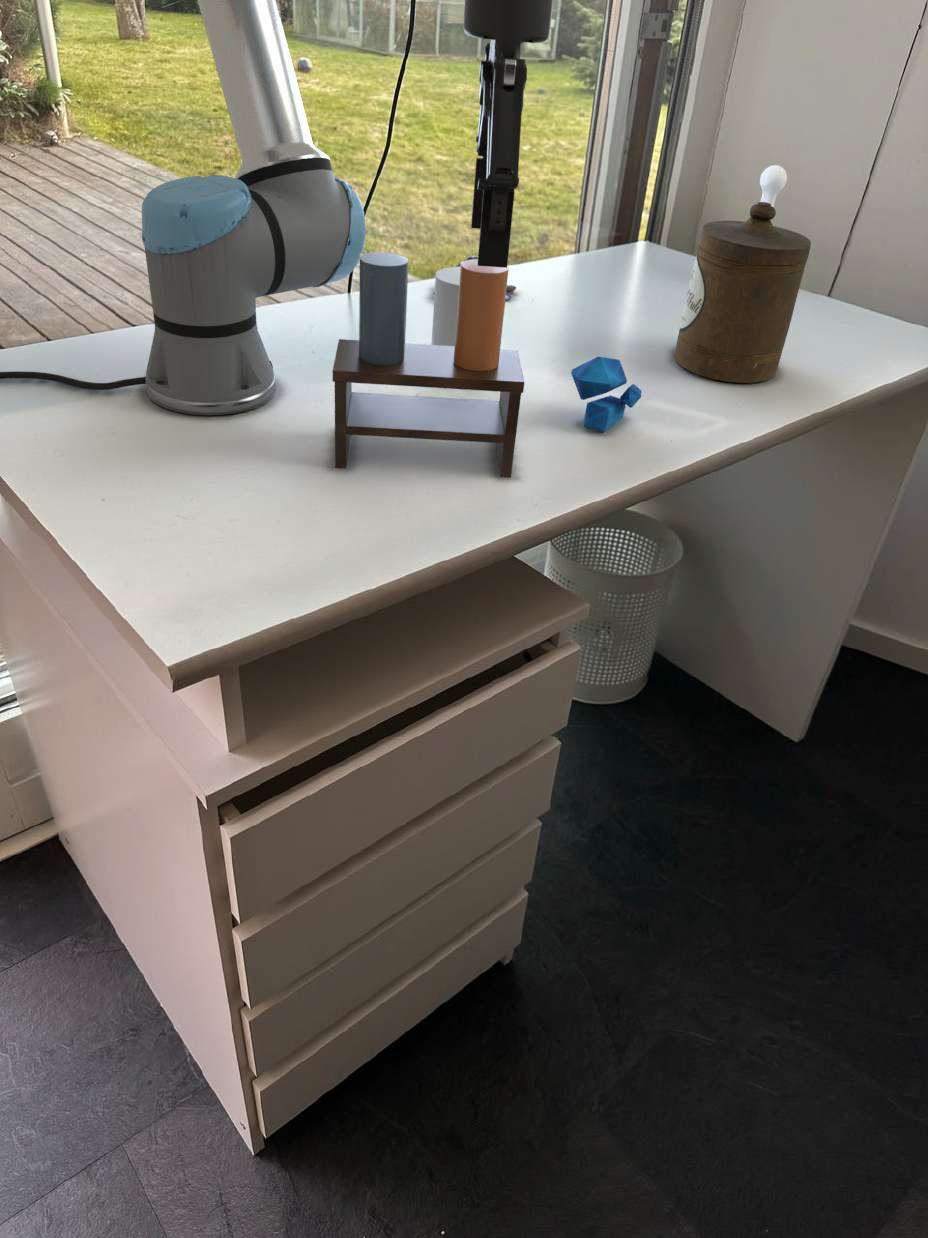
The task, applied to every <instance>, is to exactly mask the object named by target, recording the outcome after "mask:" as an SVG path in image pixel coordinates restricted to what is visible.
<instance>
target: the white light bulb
mask: <svg viewBox="0 0 928 1238" xmlns="http://www.w3.org/2000/svg"><path fill="white" fill-rule="evenodd" d="M787 181H788V174H787V171H786V170H785V168H784V167H782V166H781V165H778V164H775V165H773V164H772V165H770V166H767V167H766V168H765V169H764V170H763V171H762V172H761V174H760V177H759V186H760V189H761V198H760V201H759V202H767V203H770V204H771V206H772V207H774V208H775V203H776V199H777V196H778V194H779V193H780V192H781V191H782V190H783V189H784V188H785V186H786V184H787Z"/></svg>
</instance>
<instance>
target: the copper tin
mask: <svg viewBox="0 0 928 1238" xmlns="http://www.w3.org/2000/svg"><path fill="white" fill-rule="evenodd" d="M460 263H461V267H460V281H459V294H458V308H457V321H456V335H455V348H454V363H455V364H456V365H457V366H459V367H461V368H463V369H466V370H471V371H489V370H493V369H495V368H497V367H498V365H499V356H500V349H501V345H502V335H503V326H504V315H505V308H506V300H505V298H506V289H507V285H508V279H509V266H507V268H504V267H489V266H478V259H472V260H467V261H464V262H463V261H462V262H460Z"/></svg>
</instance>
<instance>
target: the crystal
mask: <svg viewBox="0 0 928 1238" xmlns="http://www.w3.org/2000/svg"><path fill="white" fill-rule="evenodd" d="M570 375H571V377H572V379H573V382H574V385H575V387H576V390H577V393H578V395H579V399H580V400H582V401H584V400H588V399H591V398H595V397H598V396H602V395H604V394H605V395H606V394H608V393H610V392H612V391H613V390H615V389H618V388H620V387H622V386H625V385H626V384H627V382H628V380H627V379H628V378H627V376H626V374H625V370H624V368H623V365H622V363H621V360H620V359H617V358H612V357H604V356H596V357H594V358H592V359H590V360H588V361H586V362H584V363H582V364H580V365H578V366H576V367H575V368H573V369H571V371H570ZM641 398H642V390H641V388H639V387H638V386H637V385H636V384H634V383H632V384H631V385H629V386H628V387H627V389H626V390H624V392H623V393H622V394H621V395H620V397H617V396H614V395H607V396H604V397H601V398H597V399H594V400H592V401H589V402H587V403H586V407H585V412H584V416H583V422H582V424H583V426H584V427H585V428H588V429H591V430H594V431H597V432H599V433H605V432H606V431H607V430H609V429H610V428H611V427H613V426H614V425H616V424H617V423H618V422H619V421H621V420H622V419H623V418H624V415H625V410H626V406H627V407H628V408H633V407H634V406H635V405H636V404H637V403H638V401H639V400H640V399H641Z"/></svg>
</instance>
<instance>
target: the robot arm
mask: <svg viewBox="0 0 928 1238" xmlns="http://www.w3.org/2000/svg"><path fill="white" fill-rule="evenodd" d="M197 4H198V8H199V12H200V15H201V17H202V18H201V19H202V22H203V26H204V29H205V33H206V36H207V40H208V43H209V47H210V50H211V54H212V57H213V62H214V65H215V69H216V73H217V75H218V79H219V84H220V86H221V90H222V94H223V97H224V102H225V105H226V108H227V112H228V116H229V119H230V122H231V123H230V124H231V126H232V130H233V133H234V137H235V140H236V141H235V142H236V144H237V148H238V152H239V155H240V159H241V163H240V166H239V168H238V170H237V172H236V173H235V175H234V177H233V176H227V175H219V174H218V175H217V174H214V175H213V174H212V175H211V174H210V175H207V176H201V175H193V176H186V177H181V178H176V179H172V180H169V181H167V182H163V183H162V184H160V185H157V186H156V187H155V186H154V188H152V189H151V190H149V192H148V193H147V194H146V196H145V197H144V199H143V201H142V204H141V231H142V232H141V241H142V245H143V246H144V253H145V260H146V269H147V274H148V275H147V276H148V283H149V291H150V298H151V299H150V300H151V306H152V314H153V322H154V333H153V337H152V342H151V347H150V352H149V356H148V361H147V366H146V370H145V376H140V377H134V378H126V379H119V380H115V381H110V382H92V381H91V382H90V381H84V380H80V379H75V378H71V377H68V376H63V375H61V374H55V373H49V372H41V371H21V370H20V371H19V370H18V371H0V380H10V379H11V380H14V379H19V380H20V379H21V380H22V379H24V380H25V379H26V380H43V381H50V382H56V383H59V384H63V385H67V386H70V387H75V388H79V389H85V390H91V391H92V390H93V391H110V390H116V389H121V388H125V387H132V386H140V385H145V387H146V393H147V396H148V398H149V399H150V400H151V401H152V402H153V403H155V405H158V406H160V407H162V408H164V409H167V410H169V411H173V412H177V413H182V414H187V415H193V416H195V415H197V416H224V415H231V414H232V415H233V414H237V413H238V414H239V413H242V412H248V411H251V410H254V409H257V408H258V407H260V406H262V405H264V404H266V403H268V402H269V401H270V400H272V398H273V397H274V395H275V393H276V376H275V372H274V366H273V363H272V361H271V360H270V358H269V356H268V353H267V350H266V348H265V346H264V343H263V340H262V337H261V335H260V332H259V330H258V324H257V323H258V322H257V305H256V299H257V298H260V297H265V296H270V295H277V294H282V293H287V292H292V291H297V290H302V289H307V288H320V287H323V286H326V285H328V284H329V283H333V282H337V281H340V280H343V279H345V278H347V277H348V276H349V275H350V274H351V273H352V272H353V271H354V270H355V269H356V268H357V266H358V264H359V263H360V256H361V255H362V253H363V251H364V249H365V244H366V231H367V230H366V216H365V211H364V207H363V203H362V201H361V199H360V196H359V194H358V192H357V191H356V190H354V189H353V186H352V185H351V184H350V183H349V182H348V181H346V180H344V179H342V178H341V179H340V178H339V177H335V175H334V171H333V166H332V164H331V159H330V157H329V155H327V154H326V153H324V152H323V151H321V150H320V149H319V148H317V147H316V146H315V145H314V144H313V139H312V136H311V132H310V128H309V124H308V120H307V117H306V112H305V109H304V108H305V107H304V104H303V100H302V97H301V93H300V88H299V85H298V80H297V76H296V73H295V69H294V65H293V60H292V56H291V54H290V49H289V46H288V41H287V37H286V33H285V30H284V29H285V28H284V25H283V22H282V17H281V14H280V10H279V6H278V2H277V0H197ZM553 6H554V0H464V10H463V31H464V33H465V35H467V36H469V37H473V38H476V39H481V40H490V42H486V44H485V47H484V55H485V57H484V60H480V63H479V80H478V81H479V83H480V84H479V85H480V86H479V105H480V107H479V116H478V117H479V118H478V119H479V120H478V128H477V135H476V137H475V142H476V147H475V148H476V150H475V151H476V154H477V155H476V156H477V157H476V158H475V169H474V183H473V184H474V185H473V196H472V197H473V198H472V211H471V223H470V227H471V229H479V238H478V239H479V240H478V241H479V242H478V252H477V253H478V254H477V257H478V266H489V267H504V268H507V267H508V264H509V263H508V262H509V254H510V253H509V252H510V242H511V234H512V233H511V232H512V223H513V222H512V221H513V213H514V204H515V203H514V201H515V194H516V193H515V190H517V188H518V187H519V184H520V177H519V167H520V148H521V129H522V113H523V109H524V92H525V89H526V84H527V80H528V67H527V64H526V58H521V52H522V51H521V47H522V44H523V43H528V44H540V43H545V42H546V41H547V40H548V39H549V38H550V33H551V27H552V26H551V25H552V23H551V22H552V16H553V15H552V14H553Z"/></svg>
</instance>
